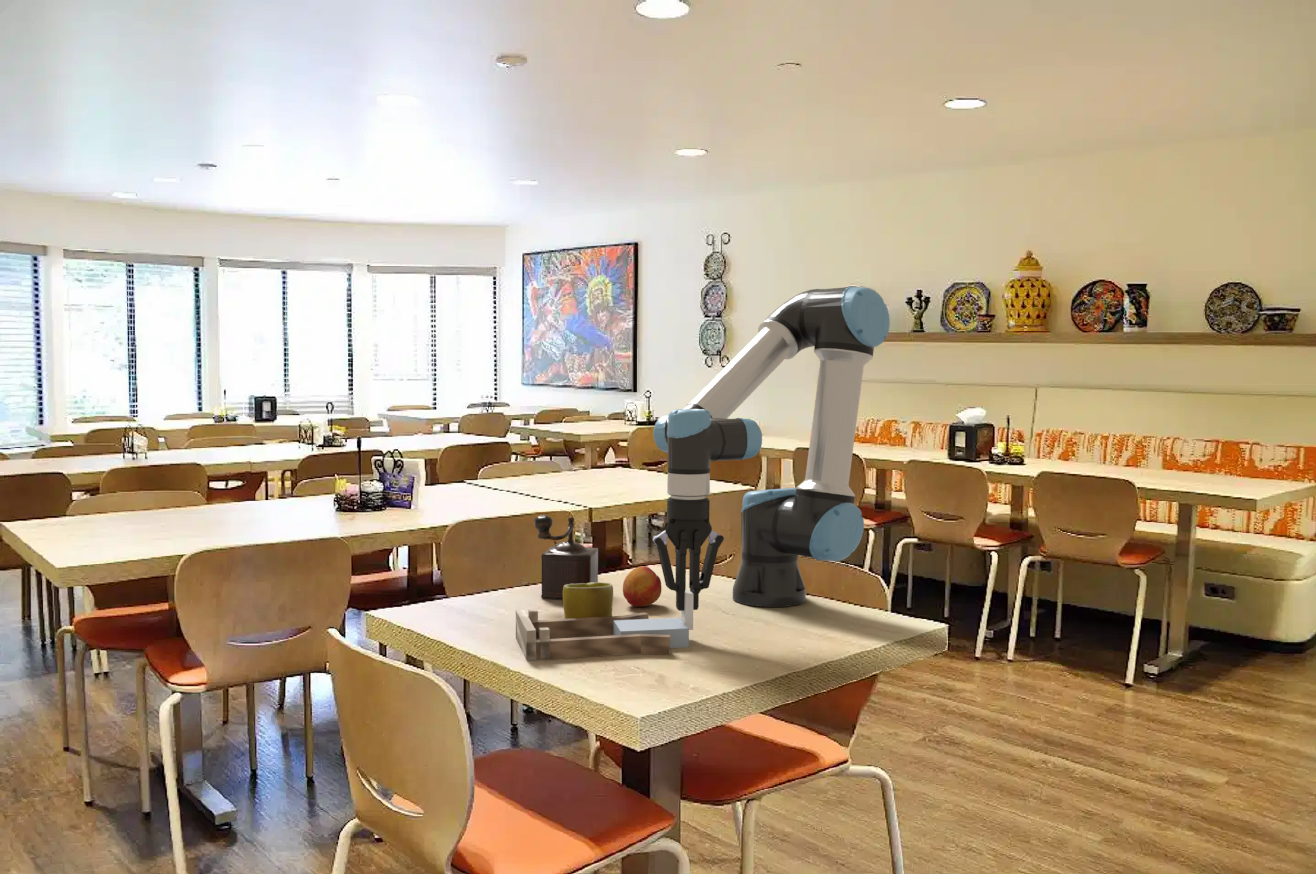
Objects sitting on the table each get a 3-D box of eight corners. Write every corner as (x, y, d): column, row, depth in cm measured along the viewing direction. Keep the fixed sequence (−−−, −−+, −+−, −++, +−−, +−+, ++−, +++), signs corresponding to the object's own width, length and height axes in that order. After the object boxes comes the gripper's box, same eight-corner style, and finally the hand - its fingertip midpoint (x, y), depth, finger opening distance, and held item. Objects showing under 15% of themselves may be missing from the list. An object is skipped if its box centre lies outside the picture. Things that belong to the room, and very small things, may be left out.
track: (646, 628, 203) (646, 601, 202) (672, 654, 185) (672, 625, 185) (514, 635, 197) (514, 608, 196) (528, 663, 179) (528, 633, 179)
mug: (613, 626, 196) (600, 572, 198) (561, 640, 199) (548, 587, 200) (632, 623, 208) (619, 572, 210) (583, 637, 210) (570, 586, 212)
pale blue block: (679, 636, 198) (679, 617, 198) (688, 648, 190) (688, 628, 190) (613, 639, 196) (613, 620, 195) (620, 651, 188) (620, 631, 188)
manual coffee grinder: (549, 588, 237) (549, 506, 236) (599, 590, 236) (599, 507, 234) (530, 604, 222) (530, 516, 221) (584, 606, 220) (584, 517, 219)
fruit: (666, 609, 218) (666, 570, 217) (627, 611, 216) (627, 571, 215) (657, 601, 226) (657, 562, 225) (618, 602, 224) (618, 564, 223)
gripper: (717, 493, 199) (715, 621, 200) (647, 494, 195) (646, 625, 197) (730, 498, 191) (728, 631, 193) (658, 500, 188) (656, 635, 190)
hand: (687, 628), depth 195 cm, fingers closed
